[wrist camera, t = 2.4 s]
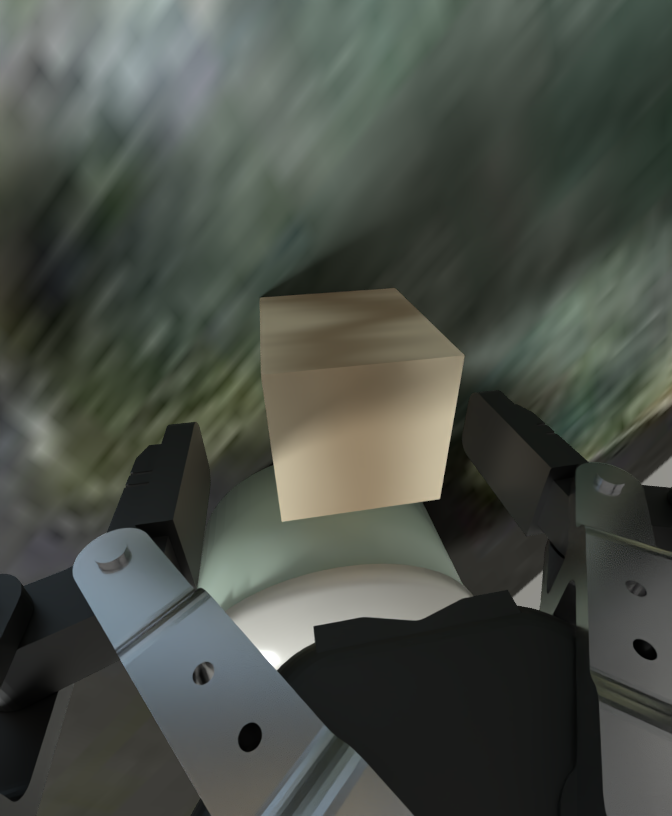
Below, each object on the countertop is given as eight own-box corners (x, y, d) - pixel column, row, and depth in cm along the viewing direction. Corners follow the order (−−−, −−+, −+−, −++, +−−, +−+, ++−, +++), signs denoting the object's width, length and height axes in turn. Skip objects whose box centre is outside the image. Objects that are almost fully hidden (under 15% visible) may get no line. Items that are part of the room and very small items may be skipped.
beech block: (394, 287, 15) (464, 355, 10) (387, 401, 17) (440, 499, 12) (259, 297, 14) (260, 374, 9) (274, 413, 17) (281, 521, 12)
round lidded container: (440, 435, 19) (521, 557, 13) (415, 586, 26) (461, 710, 20) (174, 467, 17) (134, 625, 12) (222, 620, 24) (212, 767, 18)
